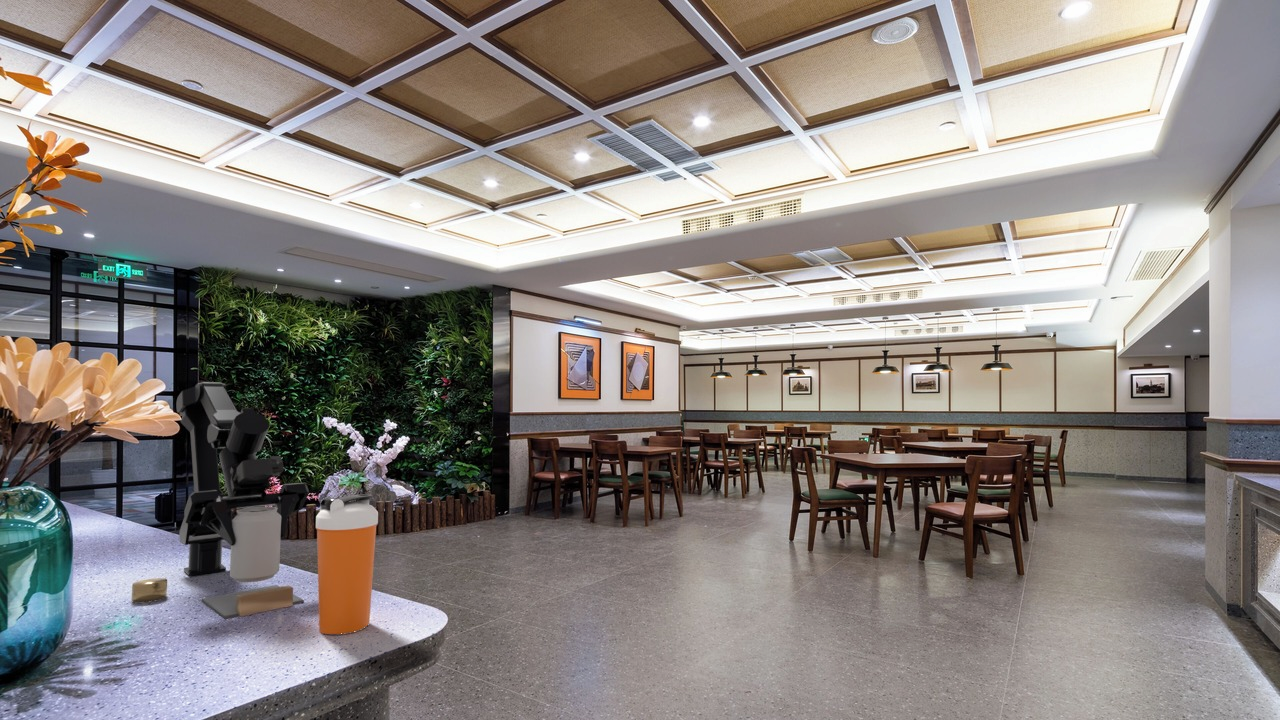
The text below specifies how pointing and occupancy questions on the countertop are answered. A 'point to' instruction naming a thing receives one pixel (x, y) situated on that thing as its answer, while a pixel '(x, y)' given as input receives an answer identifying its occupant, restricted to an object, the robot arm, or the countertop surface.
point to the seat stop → (264, 600)
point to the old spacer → (149, 590)
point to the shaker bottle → (345, 562)
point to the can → (255, 544)
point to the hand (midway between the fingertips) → (258, 540)
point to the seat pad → (234, 602)
